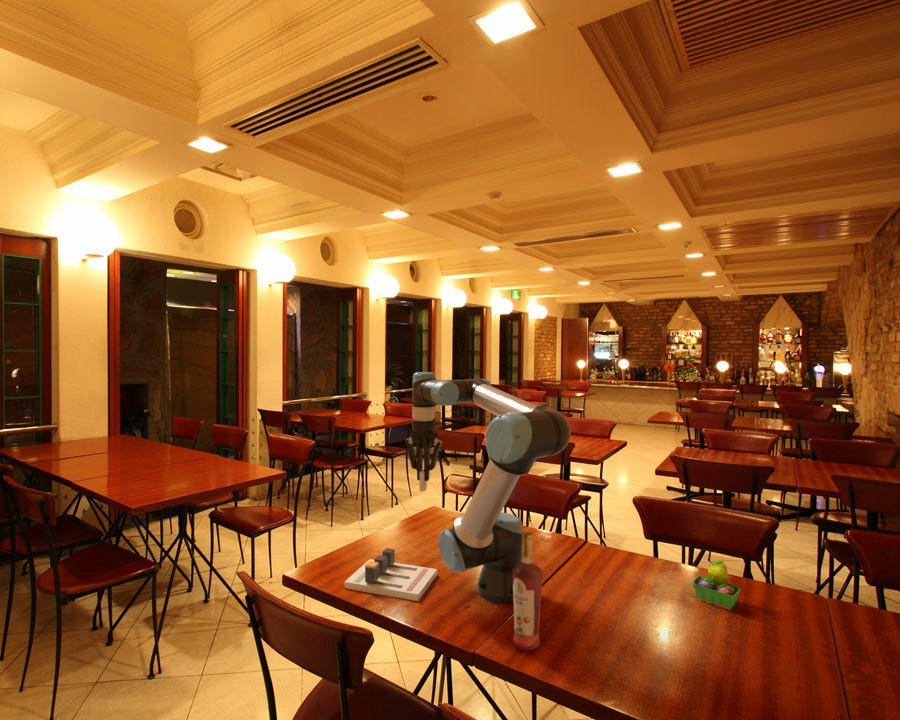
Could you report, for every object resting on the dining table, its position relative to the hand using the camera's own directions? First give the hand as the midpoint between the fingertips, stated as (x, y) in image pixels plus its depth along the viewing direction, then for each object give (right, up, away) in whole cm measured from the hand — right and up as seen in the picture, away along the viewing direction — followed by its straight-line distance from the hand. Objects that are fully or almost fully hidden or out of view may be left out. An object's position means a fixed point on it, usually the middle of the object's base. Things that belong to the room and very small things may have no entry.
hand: (423, 490), depth 162 cm
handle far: (-11, -24, -1) cm, 26 cm away
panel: (-9, -27, -8) cm, 29 cm away
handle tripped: (-15, -24, -13) cm, 31 cm away
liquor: (+28, -28, -40) cm, 56 cm away
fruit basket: (+87, -28, -18) cm, 93 cm away
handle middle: (-13, -24, -7) cm, 28 cm away
